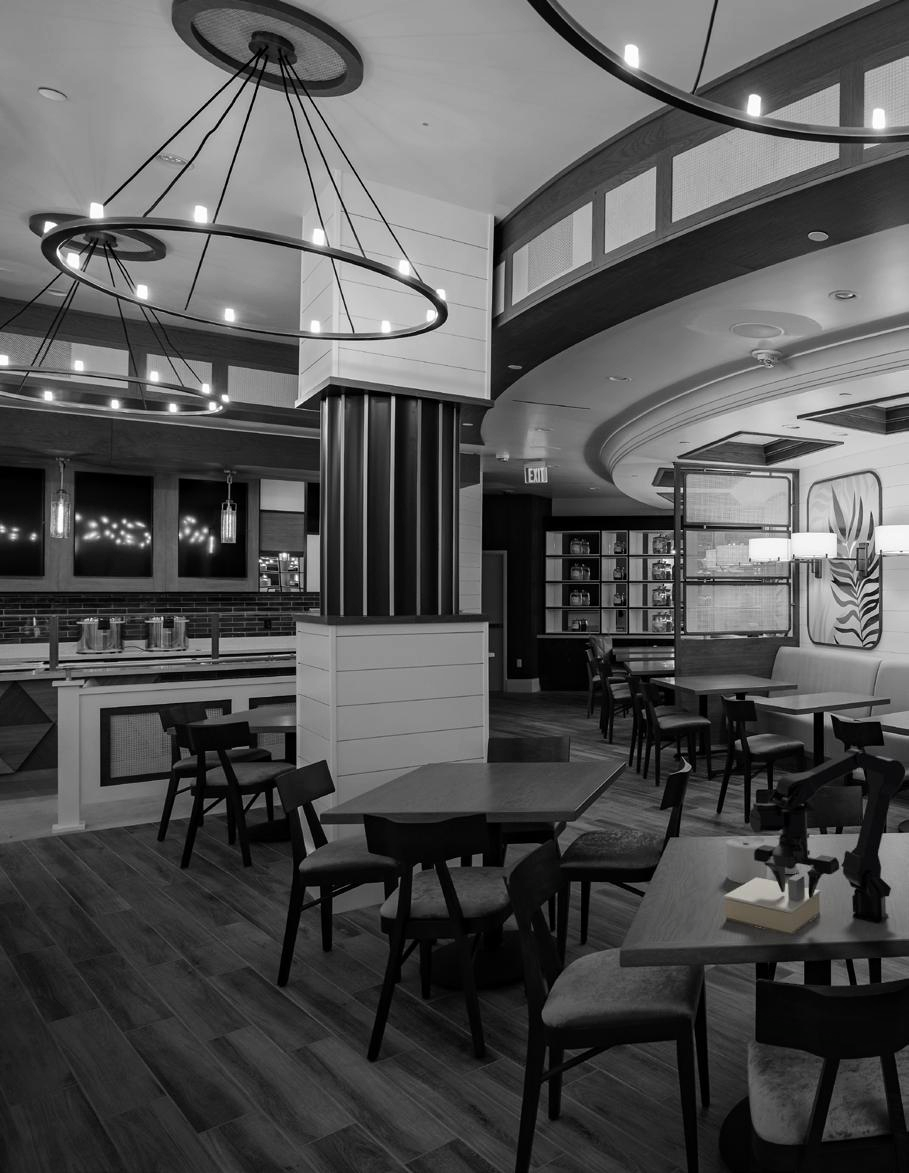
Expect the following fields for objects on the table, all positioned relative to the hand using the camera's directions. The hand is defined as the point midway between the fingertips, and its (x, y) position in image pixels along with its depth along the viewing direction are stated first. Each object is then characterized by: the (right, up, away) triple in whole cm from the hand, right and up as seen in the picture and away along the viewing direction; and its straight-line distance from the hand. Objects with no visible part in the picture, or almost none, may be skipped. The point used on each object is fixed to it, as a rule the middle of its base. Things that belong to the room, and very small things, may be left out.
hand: (796, 894), depth 205 cm
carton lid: (-4, -2, +4) cm, 6 cm away
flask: (+13, -8, +39) cm, 42 cm away
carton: (-4, -7, +4) cm, 9 cm away
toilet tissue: (0, -8, +34) cm, 35 cm away
